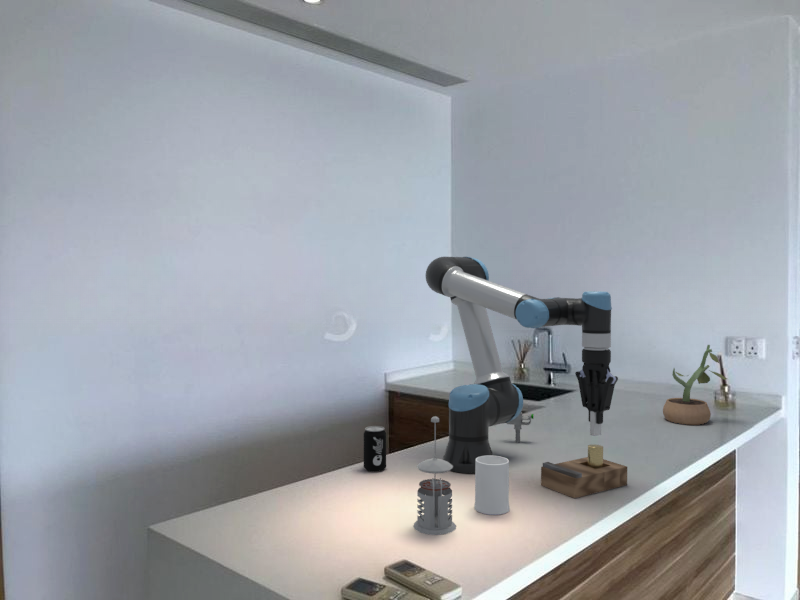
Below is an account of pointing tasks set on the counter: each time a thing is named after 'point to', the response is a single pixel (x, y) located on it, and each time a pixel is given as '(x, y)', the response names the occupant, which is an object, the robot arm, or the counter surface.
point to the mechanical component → (518, 422)
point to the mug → (492, 485)
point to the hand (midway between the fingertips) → (595, 434)
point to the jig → (582, 477)
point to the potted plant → (685, 407)
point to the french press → (434, 498)
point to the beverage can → (374, 448)
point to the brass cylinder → (595, 456)
